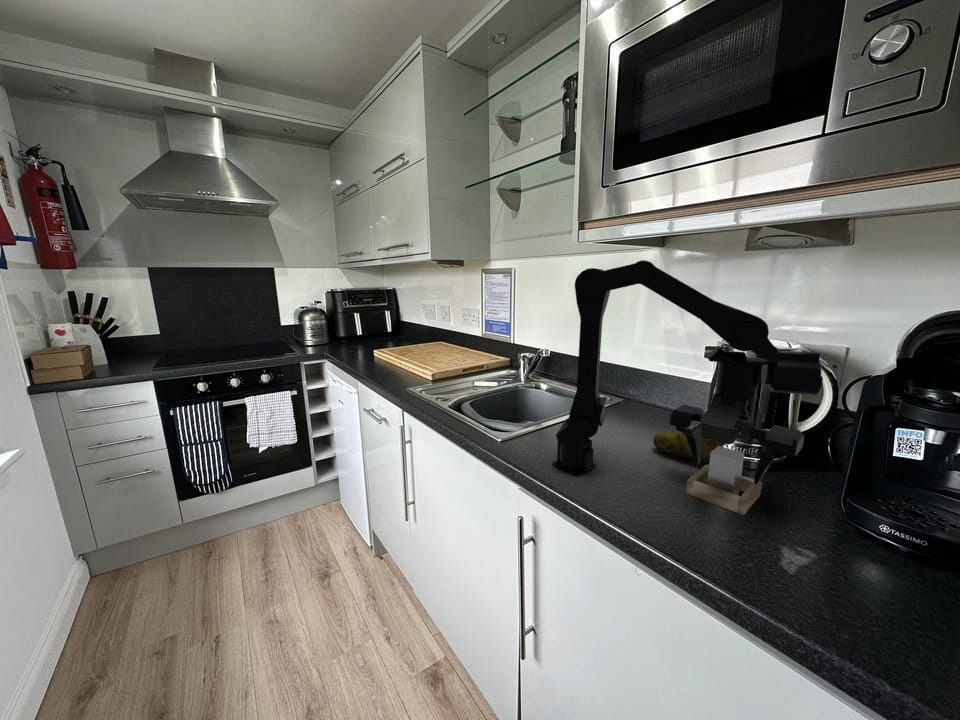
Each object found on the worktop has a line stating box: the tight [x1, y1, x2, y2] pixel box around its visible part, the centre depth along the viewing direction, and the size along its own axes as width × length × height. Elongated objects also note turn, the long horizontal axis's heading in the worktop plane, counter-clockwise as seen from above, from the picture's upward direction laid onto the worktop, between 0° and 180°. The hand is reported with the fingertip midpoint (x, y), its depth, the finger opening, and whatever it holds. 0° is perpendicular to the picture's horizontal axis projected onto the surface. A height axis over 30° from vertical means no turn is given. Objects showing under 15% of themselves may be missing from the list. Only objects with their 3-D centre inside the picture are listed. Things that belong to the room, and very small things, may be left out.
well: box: [685, 464, 763, 516], centre depth 68 cm, size 9×9×2 cm
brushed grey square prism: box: [706, 446, 745, 496], centre depth 68 cm, size 4×4×8 cm
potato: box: [652, 430, 725, 459], centre depth 82 cm, size 8×13×8 cm, turn 26°
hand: (725, 473), depth 68 cm, fingers open, 9 cm apart
